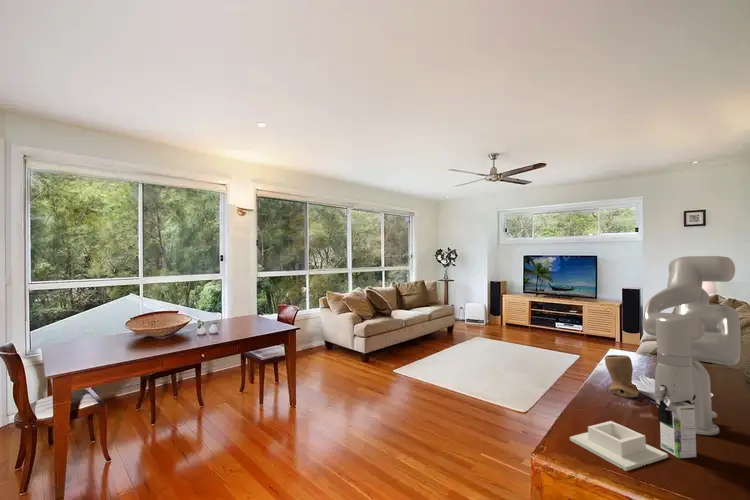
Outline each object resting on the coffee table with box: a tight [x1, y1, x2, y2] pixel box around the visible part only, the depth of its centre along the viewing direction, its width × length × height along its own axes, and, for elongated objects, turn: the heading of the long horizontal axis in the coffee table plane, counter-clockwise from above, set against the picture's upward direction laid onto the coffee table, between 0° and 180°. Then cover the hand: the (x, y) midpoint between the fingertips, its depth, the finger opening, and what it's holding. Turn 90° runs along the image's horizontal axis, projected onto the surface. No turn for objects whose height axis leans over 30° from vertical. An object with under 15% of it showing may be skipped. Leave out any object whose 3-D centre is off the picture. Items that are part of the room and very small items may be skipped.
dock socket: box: [569, 420, 669, 472], centre depth 102 cm, size 17×17×5 cm
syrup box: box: [659, 398, 697, 459], centre depth 99 cm, size 6×6×14 cm
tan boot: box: [604, 354, 641, 398], centre depth 144 cm, size 15×12×15 cm
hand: (676, 420), depth 99 cm, fingers open, 9 cm apart
